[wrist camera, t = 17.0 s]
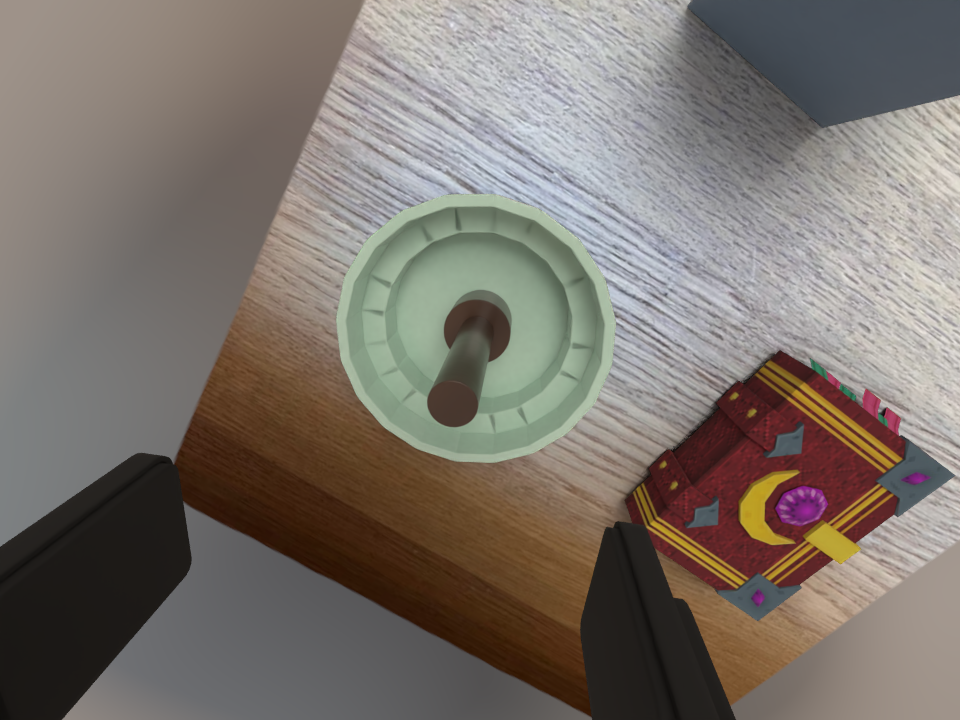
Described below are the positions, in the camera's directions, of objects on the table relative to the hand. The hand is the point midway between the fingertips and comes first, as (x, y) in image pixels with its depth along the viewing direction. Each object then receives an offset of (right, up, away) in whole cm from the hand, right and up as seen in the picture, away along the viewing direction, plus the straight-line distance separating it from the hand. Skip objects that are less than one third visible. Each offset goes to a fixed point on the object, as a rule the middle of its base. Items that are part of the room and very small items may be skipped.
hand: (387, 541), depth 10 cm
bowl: (+2, +7, +21) cm, 22 cm away
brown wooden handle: (+2, +7, +20) cm, 21 cm away
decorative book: (+22, -3, +23) cm, 31 cm away
